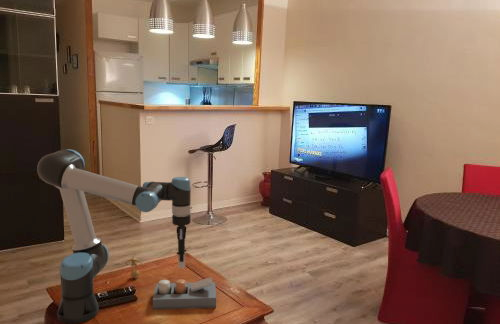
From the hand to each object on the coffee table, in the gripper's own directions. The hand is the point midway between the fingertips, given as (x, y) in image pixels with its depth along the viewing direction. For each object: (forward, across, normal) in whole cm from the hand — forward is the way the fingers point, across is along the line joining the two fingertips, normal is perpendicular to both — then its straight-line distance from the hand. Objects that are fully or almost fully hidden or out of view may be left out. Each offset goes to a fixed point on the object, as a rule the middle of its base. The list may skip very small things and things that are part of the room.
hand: (181, 267), depth 169 cm
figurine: (+15, +21, +23) cm, 35 cm away
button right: (+11, 0, 0) cm, 11 cm away
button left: (+11, 0, +8) cm, 13 cm away
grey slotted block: (+15, 0, -2) cm, 15 cm away
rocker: (+9, 0, -8) cm, 12 cm away
